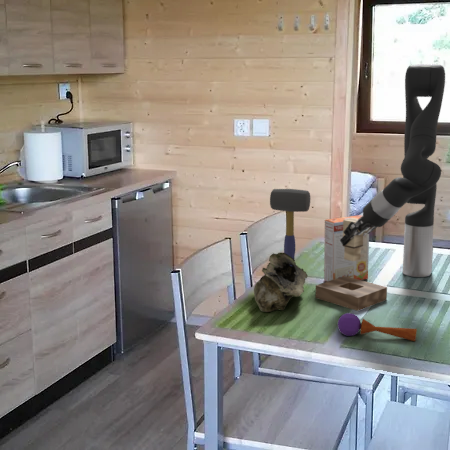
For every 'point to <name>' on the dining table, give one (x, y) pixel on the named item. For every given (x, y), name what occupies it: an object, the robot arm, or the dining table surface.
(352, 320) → the kendama
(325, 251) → the cracker box
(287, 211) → the rubber mallet
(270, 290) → the hollow geode rock
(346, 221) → the beech leg
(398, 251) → the dining table surface
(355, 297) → the seat board
